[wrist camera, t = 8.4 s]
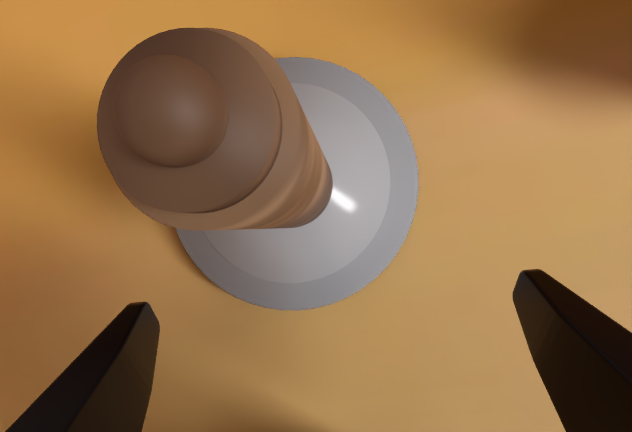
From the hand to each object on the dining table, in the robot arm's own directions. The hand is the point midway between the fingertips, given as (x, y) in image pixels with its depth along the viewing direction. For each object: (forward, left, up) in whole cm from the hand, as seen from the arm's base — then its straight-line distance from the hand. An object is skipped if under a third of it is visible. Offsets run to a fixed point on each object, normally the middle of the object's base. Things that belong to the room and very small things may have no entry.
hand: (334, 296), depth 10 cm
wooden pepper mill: (0, +5, -12) cm, 13 cm away
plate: (0, +5, -13) cm, 14 cm away
